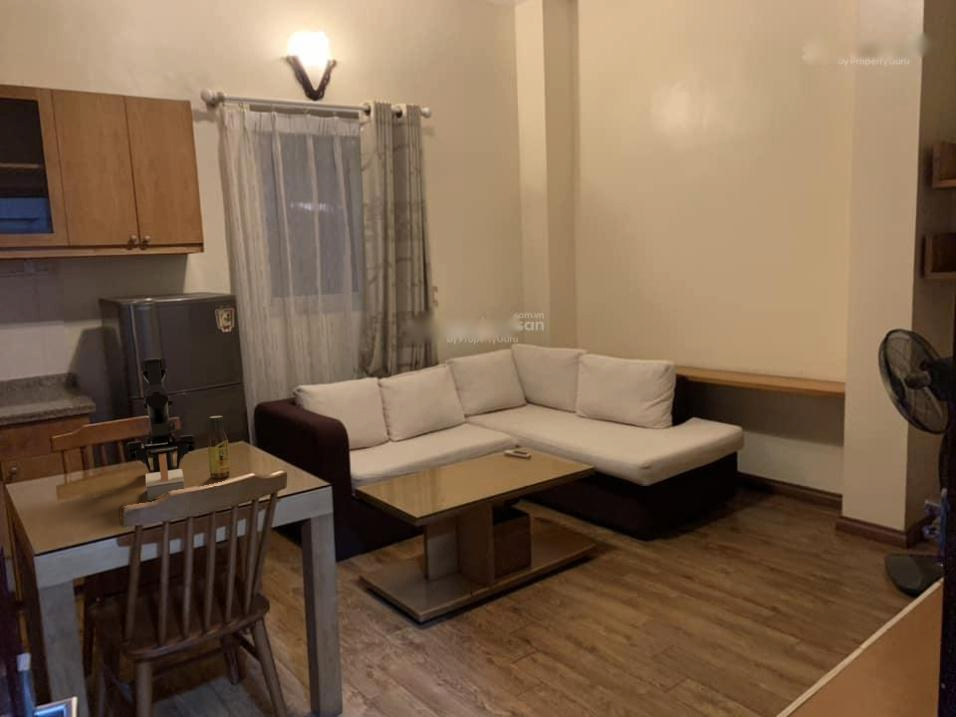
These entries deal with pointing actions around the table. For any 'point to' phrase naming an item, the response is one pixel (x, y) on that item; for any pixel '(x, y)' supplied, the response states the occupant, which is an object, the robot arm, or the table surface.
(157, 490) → the parts tub
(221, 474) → the sauce bottle
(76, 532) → the table surface
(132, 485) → the table surface
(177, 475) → the lid
